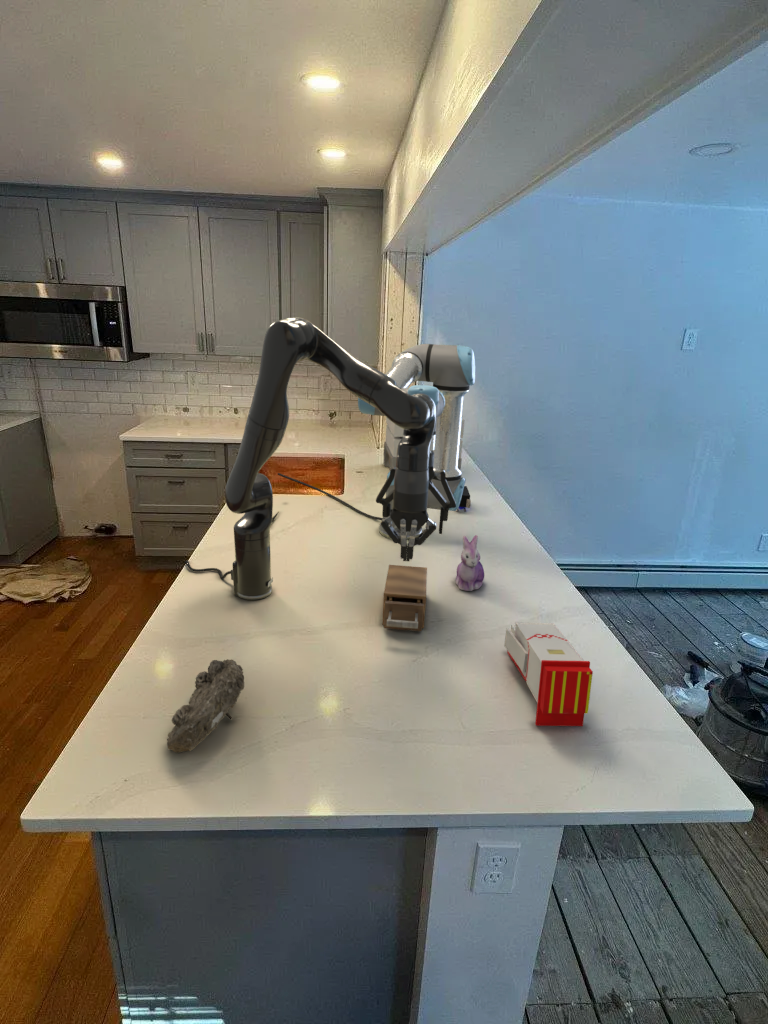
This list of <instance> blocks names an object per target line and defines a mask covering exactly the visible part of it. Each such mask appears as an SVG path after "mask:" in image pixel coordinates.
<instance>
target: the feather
mask: <svg viewBox="0 0 768 1024" xmlns="http://www.w3.org/2000/svg"><path fill="white" fill-rule="evenodd" d="M278 514H279V512H277V513H276V514H275V515H274V516H272V524H273V523H274V521H275V520H276V518H277V516H278Z"/></svg>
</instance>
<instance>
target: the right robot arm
mask: <svg viewBox="0 0 768 1024" xmlns="http://www.w3.org/2000/svg"><path fill="white" fill-rule="evenodd" d="M475 359H476V357H475V353H474V350H473V348H472V347H470V346H466V345H465V346H464V345H459V344H436V343H435V344H434V343H433V344H432V343H419V344H416V345H413V346H411V347H408V348H406V349H404V350H403V351H400V352H399V353H398V354H397V355H396V356H395V357H394V359H393V360H392V363H391V367H390V368H389V369H388V370H387V372H386V373H384V374H385V375H387V376H389V377H390V378H392V379H393V380H394V381H395V382H396V383H397V387H399V388H400V389H402V390H403V391H405V392H406V393H408V394H410V395H414V394H417V393H423V394H426V395H428V396H430V397H431V398H432V400H433V401H434V403H435V406H436V421H435V427H434V431H433V436H432V440H431V444H430V456H429V487H428V500H427V509H430V510H431V509H432V510H439V511H440V512H439V523H438V534H439V535H443V529H444V528H443V526H444V522H447V521H448V519H449V512H456V511H457V509H458V507H459V505H460V501H461V498H462V494H463V490H464V486H466V485H465V484H466V478H465V477H462V470H461V471H460V470H459V469H458V456H459V445H460V439H461V438H460V433H461V422H462V419H463V410H464V409H463V408H464V399H465V395H466V394H467V393H468V392H470V387H471V386H474V385H475V382H476V360H475ZM416 382H427V383H432V385H423V384H416V385H412V384H413V383H416ZM357 406H358V410H359V412H360V413H361V414H363V415H365V414H366V415H371V416H379V417H380V416H381V417H386V416H385V415H383V414H382V413H381V412H380V411H379V410H378V409H377V408H375V407H373V406H372V405H370V404H368V403H366V402H365V401H363V400H361V399H360V398H358V397H357ZM395 471H396V468H395V467H394V466H393V467H391V470H390V469H389V472H388V473H387V475H386V480H385V482H384V484H383V485H382V487H381V489H380V491H379V492H378V494H377V496H376V498H375V503H376V504H380V505H381V506H382V517H380V516H375V515H371V514H369V513H366V512H364V511H363V510H362V511H361V510H360V509H358V508H356V507H354V506H353V505H351V504H349V503H348V502H346V501H344V500H342V499H341V498H339V497H337V496H335V495H333V494H331V493H329V492H327V491H325V490H322V489H320V488H318V487H316V486H313V485H311V484H309V483H306V482H303V481H301V480H299V479H295V478H293V477H290V476H287V475H285V474H282V473H281V472H278V473H277V476H280V477H282V478H285V479H287V480H290V481H292V482H295V483H297V484H300V485H302V486H306V487H308V488H310V489H313V490H315V491H317V492H320V493H322V494H323V495H326V496H328V497H330V498H332V499H334V500H335V501H337V502H339V503H341V504H342V505H345V506H347V507H348V508H350V509H351V510H352V511H354V512H356V513H358V514H360V515H362V516H364V517H366V518H369V519H372V520H377V521H382V519H383V518H387V517H389V516H390V513H391V511H392V509H393V495H394V477H395ZM384 497H385V498H384ZM392 527H393V528H394V530H395V531H396V532H397V534H398V535H399V536H400V537H401V531H400V530H399V529H398V528H397V527H396V525H395V524H394V522H393V521H392ZM422 532H423V526H422V527H421V529H420V530H419V531H417V532H416V534H415V538H416V537H418V536H419V535H420V534H421V533H422ZM378 533H379V534H380V535H381V536H382V537H385V538H387V539H389V540H392V539H391V538H390V537H389V535H388V534H387V533H386V531H385V530H384V529H383V527H382V526H381V522H379V525H378ZM409 537H410V532H409V531H408V532H407V541H409Z"/></svg>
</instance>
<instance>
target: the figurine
mask: <svg viewBox="0 0 768 1024" xmlns="http://www.w3.org/2000/svg"><path fill="white" fill-rule="evenodd" d="M478 541H479V536H478V534H475V535H474V536H473V537H472V539H471V541H470V540H469V539H468V537H467V536H465V535H463V536H462V548H463V550H462V551H461V554H460V560H461V562H460V563H459V564H457V566H456V577H455V584H456V586H457V587H458V589H459V590H461V591H465V592H472V591H475V590H478V589H480V588H481V587H482V586H483V583H484V579H485V570H484V566H483V564H482V563H481V561H480V560H481V555H480V552H479V549H478Z"/></svg>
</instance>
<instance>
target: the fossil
mask: <svg viewBox="0 0 768 1024" xmlns="http://www.w3.org/2000/svg"><path fill="white" fill-rule="evenodd" d="M243 670H244V669H243V667H242V665H240V664H237V662H236V661H235V660H234V659H232V658H231V659H227V658H226V659H224V660H223V661H222V660H217V659H212V660H211V661H210V663H209V665H208V666H207V671H201V672H199V673H198V674H197V675H196V676H195V680H194V684H195V685H194V687H195V689H194V690H193V693H192V694H191V697H190V698H189V700H188V704H184V705H182V706H181V707H180V709H177V710H176V711H175V713H174V715H173V716H172V718H171V723H172V724H173V727H172V730H171V731H170V732H168V734H167V738H166V741H167V742H166V745H167V749H168V750H169V751H173V752H174V753H176V754H178V753H182V752H188V751H189V752H192V751H193V750H195V748H196V747H197V746H199V744H200V743H201V742H203V741H204V740H205V739H206V738H207V737H208V736H209V735H210V734H211V733H212V732H214V730H215V729H217V727H218V726H219V724H220V722H221V721H222V720H223V719H224V718H225V716H226V717H227V719H229V720H233V717H232V715H230V714H229V710H230V709H231V708H234V706H235V704H236V703H237V702H238V699H239V697H240V695H241V693H242V691H243V690H245V689H244V688H245V675H244V671H243Z"/></svg>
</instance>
